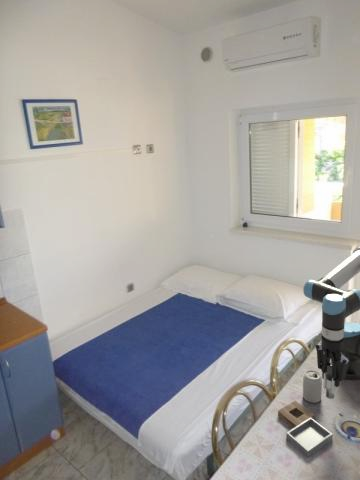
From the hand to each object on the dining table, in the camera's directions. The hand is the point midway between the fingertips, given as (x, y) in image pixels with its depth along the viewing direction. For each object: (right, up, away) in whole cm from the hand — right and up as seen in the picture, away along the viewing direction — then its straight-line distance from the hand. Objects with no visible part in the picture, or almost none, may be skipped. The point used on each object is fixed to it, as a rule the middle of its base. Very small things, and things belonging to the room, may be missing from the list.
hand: (330, 389), depth 142 cm
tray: (-9, -18, -2) cm, 20 cm away
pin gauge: (0, -3, +1) cm, 3 cm away
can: (-1, -11, +18) cm, 21 cm away
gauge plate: (-11, -15, +8) cm, 20 cm away
